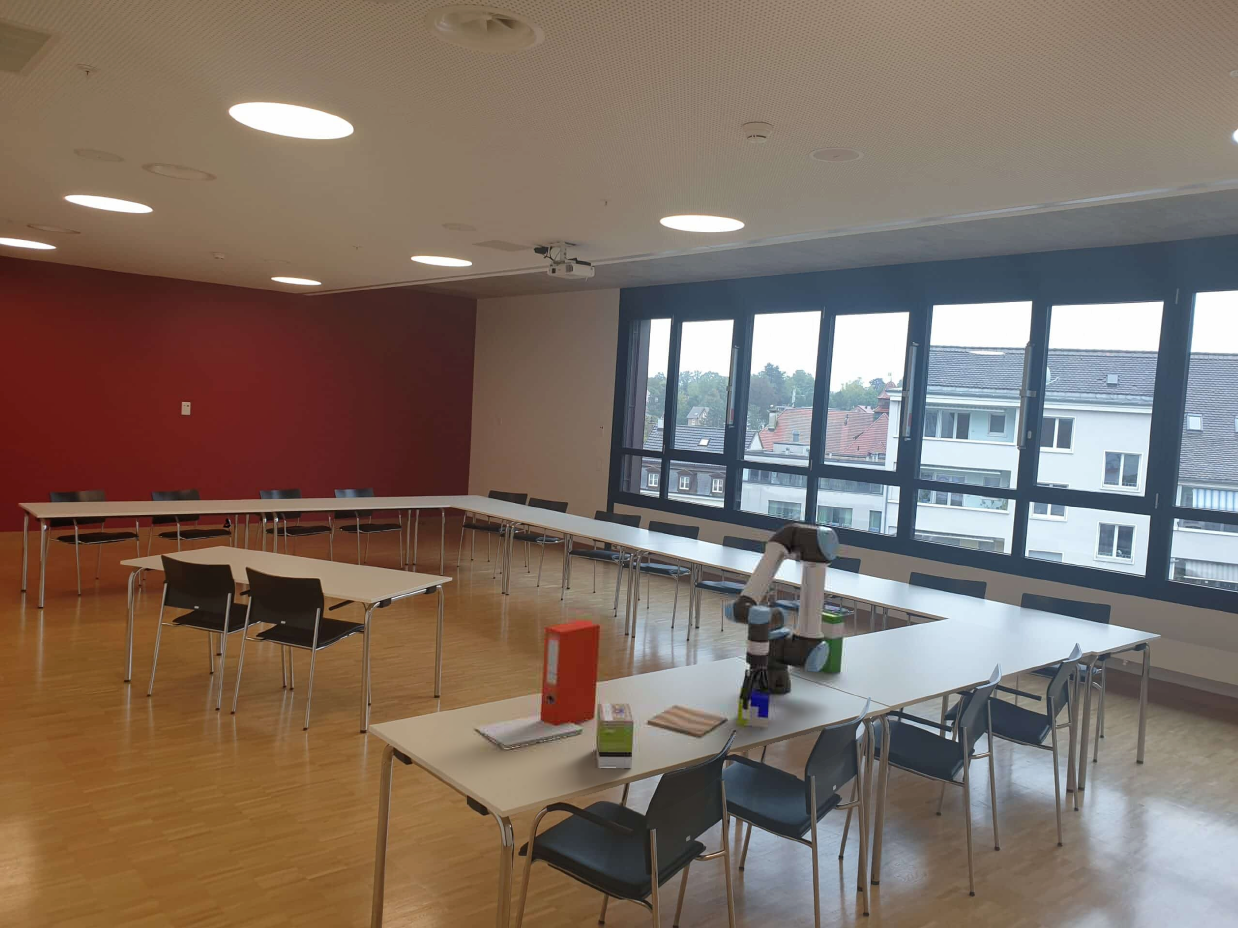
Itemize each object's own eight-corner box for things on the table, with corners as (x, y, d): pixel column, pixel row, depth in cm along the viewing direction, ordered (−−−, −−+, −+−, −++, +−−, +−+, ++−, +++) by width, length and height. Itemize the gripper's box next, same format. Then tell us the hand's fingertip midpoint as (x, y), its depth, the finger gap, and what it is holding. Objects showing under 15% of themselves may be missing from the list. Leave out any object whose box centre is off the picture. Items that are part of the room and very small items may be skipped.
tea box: (594, 748, 270) (597, 701, 269) (627, 749, 270) (630, 702, 270) (597, 769, 255) (600, 719, 254) (632, 769, 255) (634, 720, 255)
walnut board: (675, 707, 311) (675, 704, 311) (727, 720, 301) (727, 717, 301) (647, 722, 294) (647, 720, 294) (701, 737, 284) (701, 734, 284)
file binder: (594, 718, 296) (599, 624, 294) (556, 729, 284) (561, 632, 282) (578, 711, 302) (583, 619, 300) (540, 722, 290) (545, 626, 288)
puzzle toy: (767, 727, 296) (769, 698, 296) (737, 723, 298) (739, 695, 298) (768, 717, 306) (770, 689, 306) (739, 714, 308) (741, 686, 308)
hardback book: (795, 663, 376) (799, 608, 374) (806, 661, 381) (810, 606, 379) (829, 674, 363) (833, 617, 361) (840, 671, 367) (844, 615, 366)
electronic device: (505, 751, 265) (505, 744, 265) (474, 730, 281) (474, 723, 281) (583, 734, 282) (583, 728, 282) (550, 715, 298) (550, 709, 298)
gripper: (761, 642, 313) (757, 701, 315) (732, 657, 292) (728, 719, 293) (781, 646, 309) (777, 705, 311) (753, 661, 288) (749, 725, 290)
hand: (753, 712), depth 302 cm, fingers open, 13 cm apart
